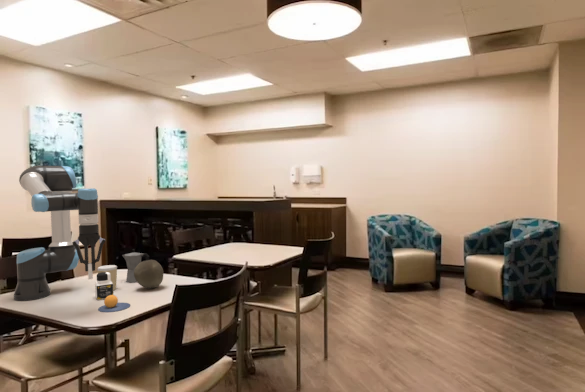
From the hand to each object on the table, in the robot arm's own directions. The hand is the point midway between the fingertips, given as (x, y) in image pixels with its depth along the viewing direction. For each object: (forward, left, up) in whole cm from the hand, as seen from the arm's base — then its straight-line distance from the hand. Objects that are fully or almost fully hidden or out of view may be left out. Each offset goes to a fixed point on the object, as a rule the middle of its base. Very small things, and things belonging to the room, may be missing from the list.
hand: (90, 278), depth 171 cm
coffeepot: (+19, +49, -14) cm, 54 cm away
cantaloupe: (+25, +27, -14) cm, 39 cm away
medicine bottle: (+4, +20, -14) cm, 25 cm away
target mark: (+9, 0, -14) cm, 17 cm away
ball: (+8, 0, -11) cm, 14 cm away
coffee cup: (+5, +35, -14) cm, 38 cm away
